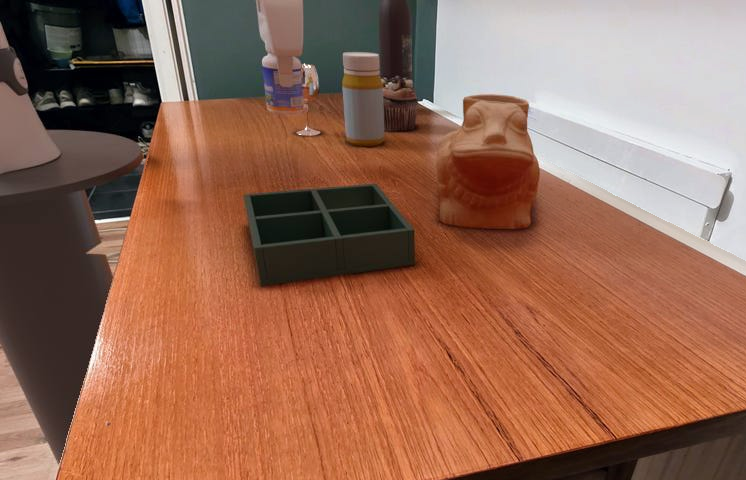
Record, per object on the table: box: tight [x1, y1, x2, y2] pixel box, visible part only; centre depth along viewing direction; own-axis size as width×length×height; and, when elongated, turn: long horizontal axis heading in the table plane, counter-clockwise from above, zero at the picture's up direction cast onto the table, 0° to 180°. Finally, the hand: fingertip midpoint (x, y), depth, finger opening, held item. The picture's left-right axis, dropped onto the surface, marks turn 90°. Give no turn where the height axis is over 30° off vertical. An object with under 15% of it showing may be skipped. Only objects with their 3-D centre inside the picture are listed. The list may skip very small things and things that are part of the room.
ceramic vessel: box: [435, 93, 541, 230], centre depth 72 cm, size 14×26×15 cm, turn 0°
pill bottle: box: [261, 40, 304, 116], centre depth 80 cm, size 5×5×10 cm
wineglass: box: [296, 63, 321, 137], centre depth 102 cm, size 6×6×12 cm
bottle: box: [341, 51, 385, 147], centre depth 98 cm, size 7×7×15 cm
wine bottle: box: [378, 0, 413, 81], centre depth 120 cm, size 7×7×30 cm
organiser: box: [242, 183, 416, 287], centre depth 61 cm, size 16×16×4 cm
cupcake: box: [380, 75, 419, 132], centre depth 111 cm, size 10×10×10 cm
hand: (283, 82), depth 81 cm, fingers closed on pill bottle, 5 cm apart
